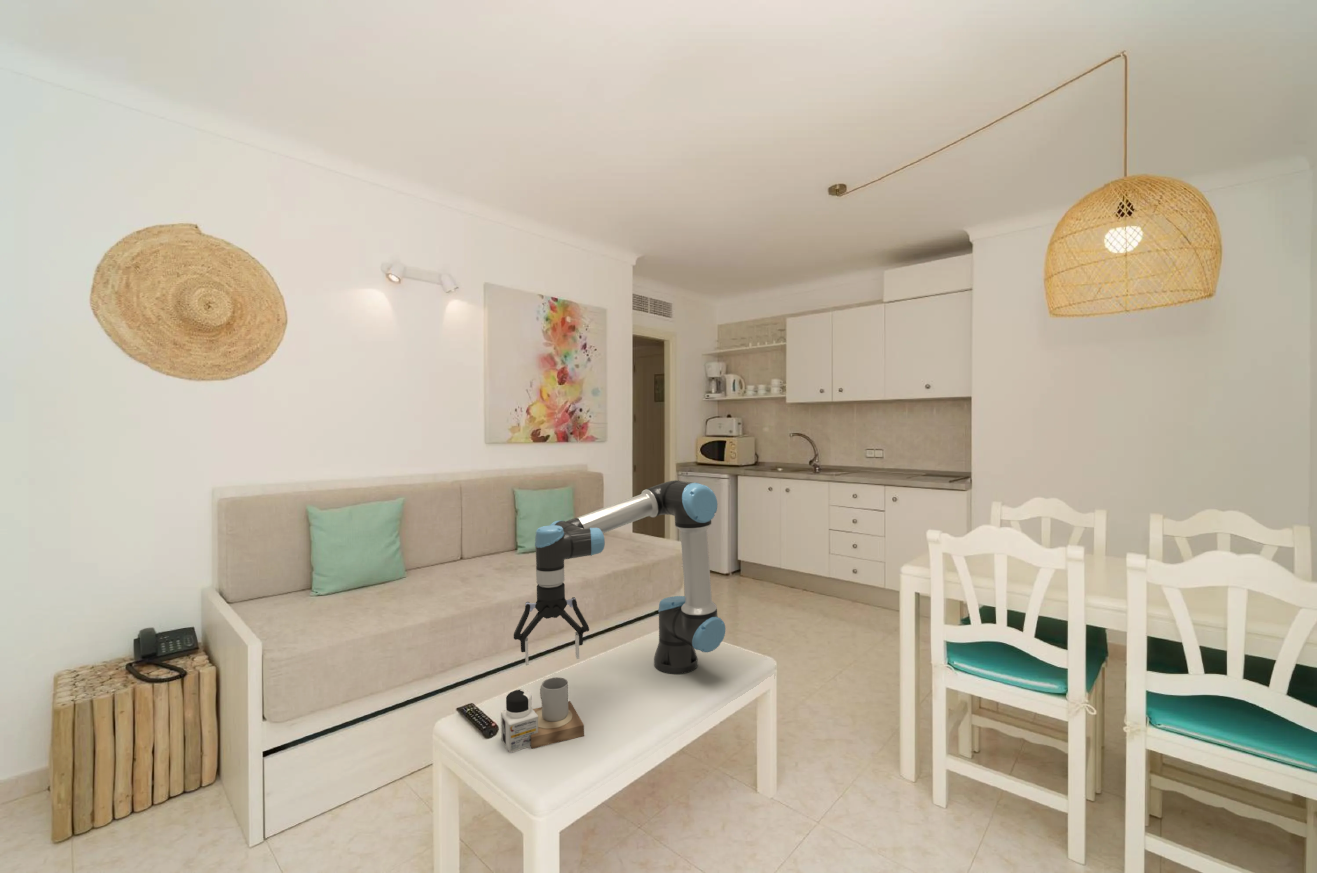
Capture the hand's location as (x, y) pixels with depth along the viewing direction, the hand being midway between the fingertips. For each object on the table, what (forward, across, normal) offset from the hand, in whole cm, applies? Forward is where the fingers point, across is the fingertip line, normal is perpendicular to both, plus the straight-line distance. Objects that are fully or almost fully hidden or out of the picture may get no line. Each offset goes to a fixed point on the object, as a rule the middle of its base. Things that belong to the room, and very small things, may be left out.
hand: (552, 660), depth 152 cm
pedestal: (+19, +1, 0) cm, 19 cm away
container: (+19, +9, +4) cm, 22 cm away
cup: (+16, 0, -2) cm, 16 cm away
